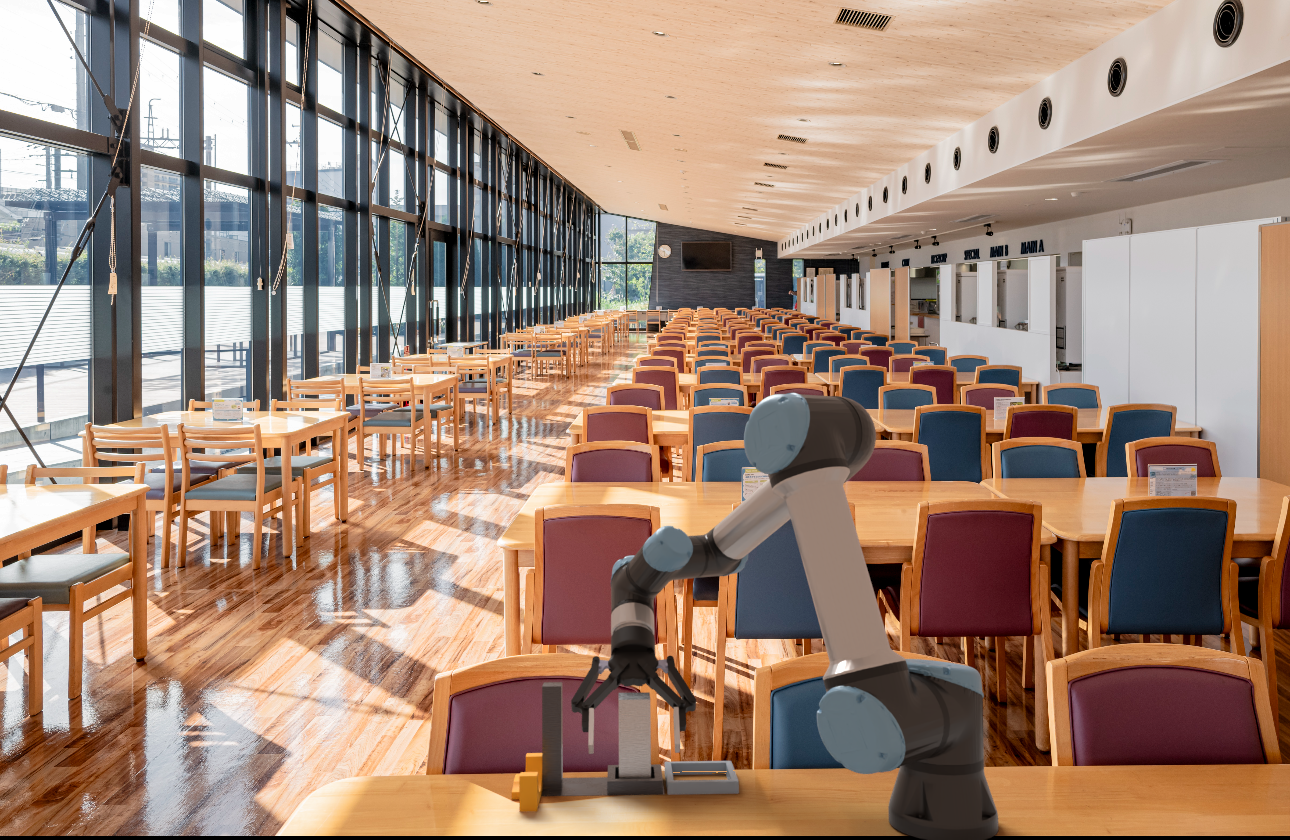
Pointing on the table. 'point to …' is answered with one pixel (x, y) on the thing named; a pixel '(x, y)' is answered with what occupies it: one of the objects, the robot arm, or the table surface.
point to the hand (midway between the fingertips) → (634, 749)
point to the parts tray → (701, 785)
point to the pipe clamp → (529, 784)
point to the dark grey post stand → (581, 786)
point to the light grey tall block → (634, 736)
